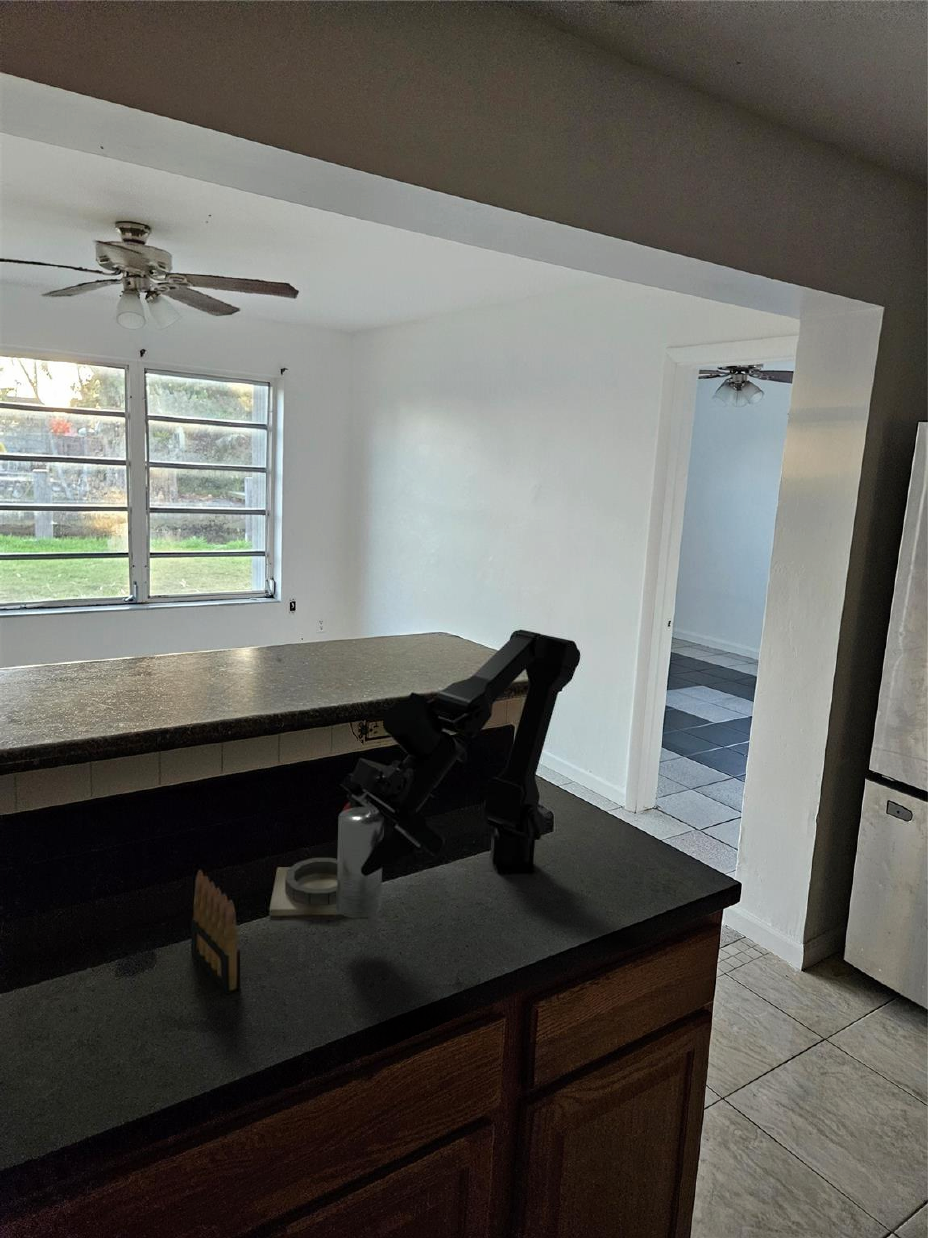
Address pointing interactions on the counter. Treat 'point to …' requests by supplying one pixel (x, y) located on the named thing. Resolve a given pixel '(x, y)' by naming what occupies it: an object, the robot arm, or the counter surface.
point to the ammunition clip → (215, 934)
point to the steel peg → (358, 862)
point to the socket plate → (296, 908)
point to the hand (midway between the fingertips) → (351, 863)
